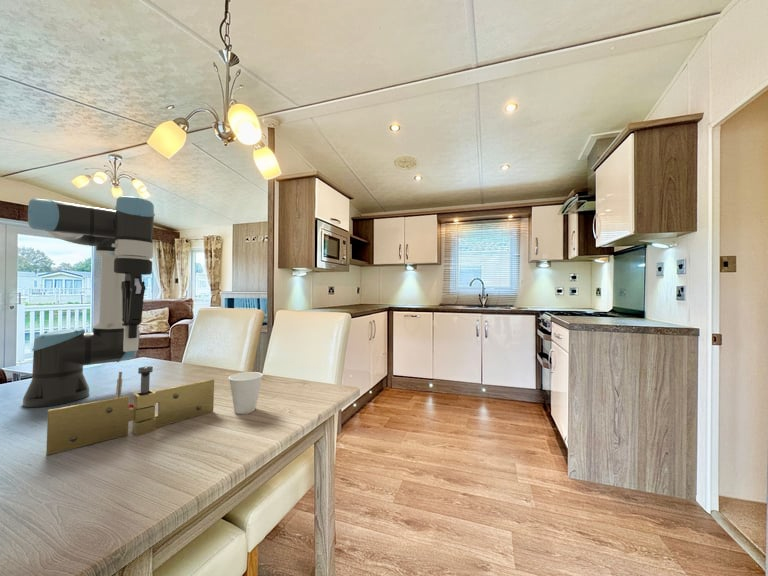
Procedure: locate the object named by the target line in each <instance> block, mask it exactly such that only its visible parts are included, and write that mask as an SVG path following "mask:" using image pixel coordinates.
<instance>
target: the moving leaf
mask: <svg viewBox="0 0 768 576" xmlns="http://www.w3.org/2000/svg"><path fill="white" fill-rule="evenodd" d="M129 404H130V395H125V396H123V395H122V396H121V397H118V398H116V397H113V398H107V399H102V400H97V401H90V402H87V403H86V402H85V403H80V404H74V405H69V406H63V407H58V408H51V409H47V425H46V427H47V429H46V450H45V453H46V456H49V455H51V454H56V453H60V452H64V451H67V450H72V449H77V448H79V447H80V448H81V447H83V446H89V445H92V444H96V443H100V442H101V443H102V442H104V441H109V440H112V439H116V438H120V437H125V436H127V435H129V422H132V421H134V420H135V422H139V421H143V420H147V419H152V418H155V415H156V405H154V406H149V407H147V408H142V409H136V408H135V407H130V408H129Z"/></svg>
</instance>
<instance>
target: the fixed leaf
mask: <svg viewBox="0 0 768 576" xmlns="http://www.w3.org/2000/svg"><path fill="white" fill-rule="evenodd" d="M140 395H141V391H139V392H134V393H133V394H132V404H133V406H134V407H135V408H136V409H141V408H145V407H149V406H158V407H157V408H158V410H157V414H155V418H152V419H147V420H143V421H139V422H135V420H134V421H131V422H132V423H131V424H132V425H131V427H132V428H131V432H132V433H133V434H134V435H135V436H136V437H137V436H141V435H143V434H147V433H151V432H155V431H156V429H157V428H159V427H162V426H166V425H169V424H172V423H177V422H180V421H184V420H188V419H191V418H194V417H199V416H201V415H205V414H209V413H212V412H214V406H215V405H214V403H215V402H214V401H215V400H214V399H215V397H214V395H215V379H213V378H211V379H207V380H202V381H197V382H191V383H187V384H182V385H177V386H176V385H175V386H172V387H167V388H161V389H156V390H153V389H149V394H146V395H141V396H140ZM157 404H158V405H157ZM134 407H133V408H134Z"/></svg>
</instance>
